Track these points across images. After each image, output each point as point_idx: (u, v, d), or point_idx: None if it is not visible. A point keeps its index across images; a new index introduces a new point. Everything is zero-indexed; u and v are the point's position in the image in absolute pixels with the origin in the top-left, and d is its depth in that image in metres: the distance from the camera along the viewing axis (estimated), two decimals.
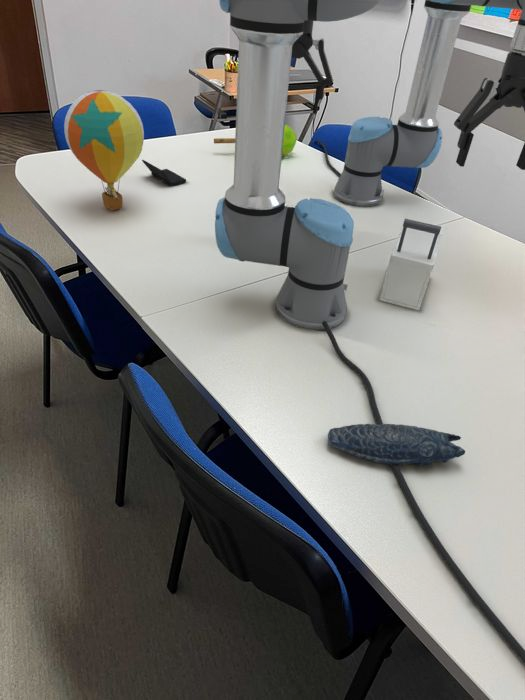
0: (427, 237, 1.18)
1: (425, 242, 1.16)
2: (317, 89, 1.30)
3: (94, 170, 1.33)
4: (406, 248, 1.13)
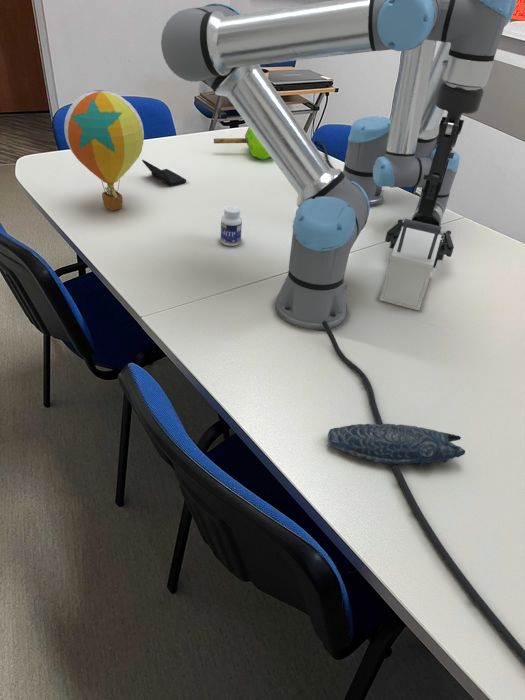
0: (427, 237, 1.18)
1: (425, 242, 1.16)
2: (447, 163, 1.05)
3: (94, 170, 1.33)
4: (406, 248, 1.13)
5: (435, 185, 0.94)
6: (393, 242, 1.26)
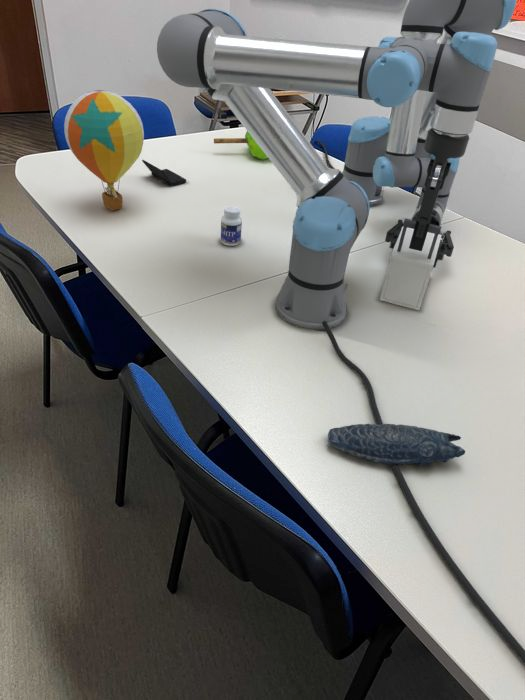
0: (427, 237, 1.18)
1: (425, 242, 1.16)
2: None
3: (94, 170, 1.33)
4: (406, 248, 1.13)
5: (424, 225, 1.04)
6: (393, 242, 1.26)
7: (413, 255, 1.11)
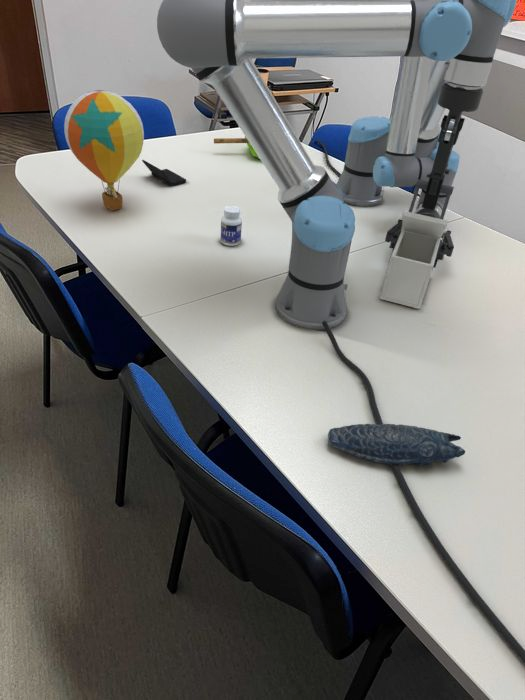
0: None
1: None
2: (443, 179, 1.08)
3: (94, 170, 1.33)
4: None
5: (437, 182, 1.05)
6: (393, 242, 1.26)
7: None
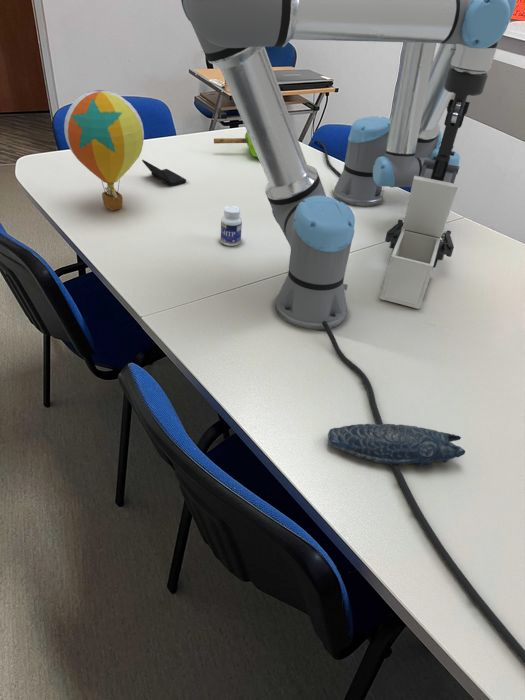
0: None
1: None
2: None
3: (94, 170, 1.33)
4: None
5: (443, 164, 1.09)
6: (393, 242, 1.26)
7: None
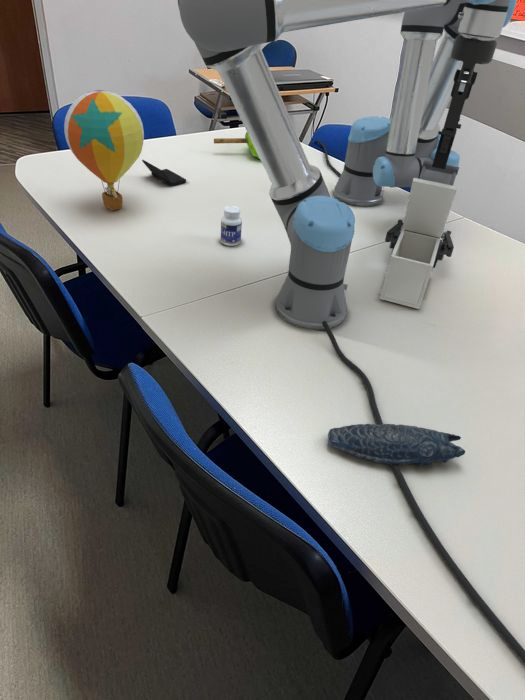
0: None
1: None
2: None
3: (94, 170, 1.33)
4: None
5: (449, 139, 1.03)
6: (393, 242, 1.26)
7: None
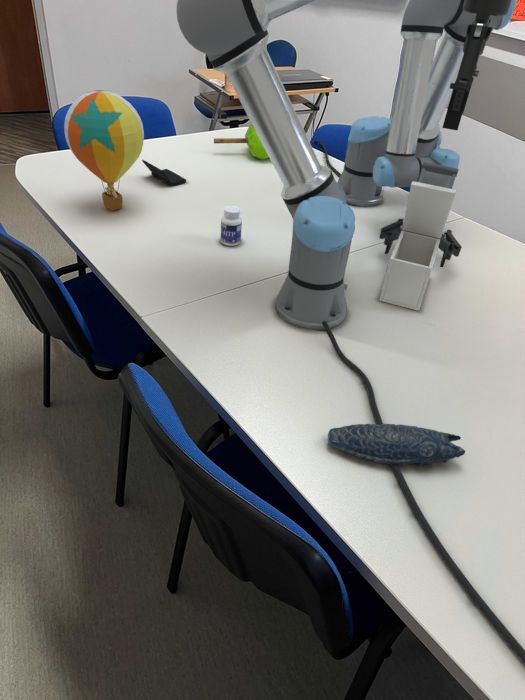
0: None
1: None
2: None
3: (94, 170, 1.33)
4: None
5: (462, 94, 0.89)
6: (387, 239, 1.27)
7: None
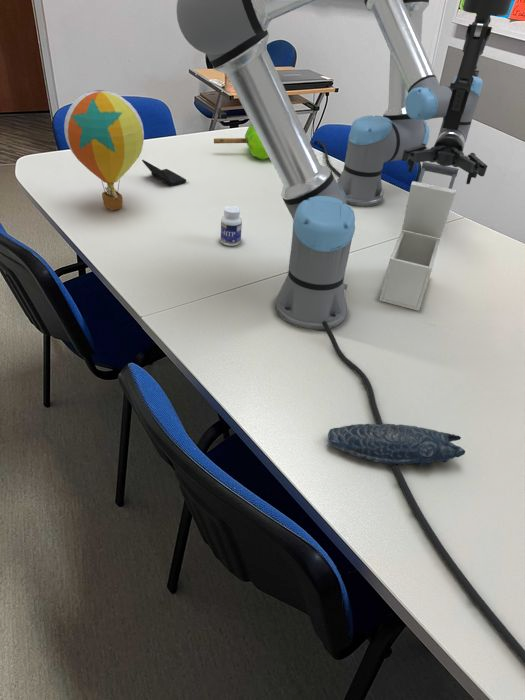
0: None
1: None
2: None
3: (94, 170, 1.33)
4: None
5: (462, 94, 0.89)
6: (410, 158, 1.26)
7: None
